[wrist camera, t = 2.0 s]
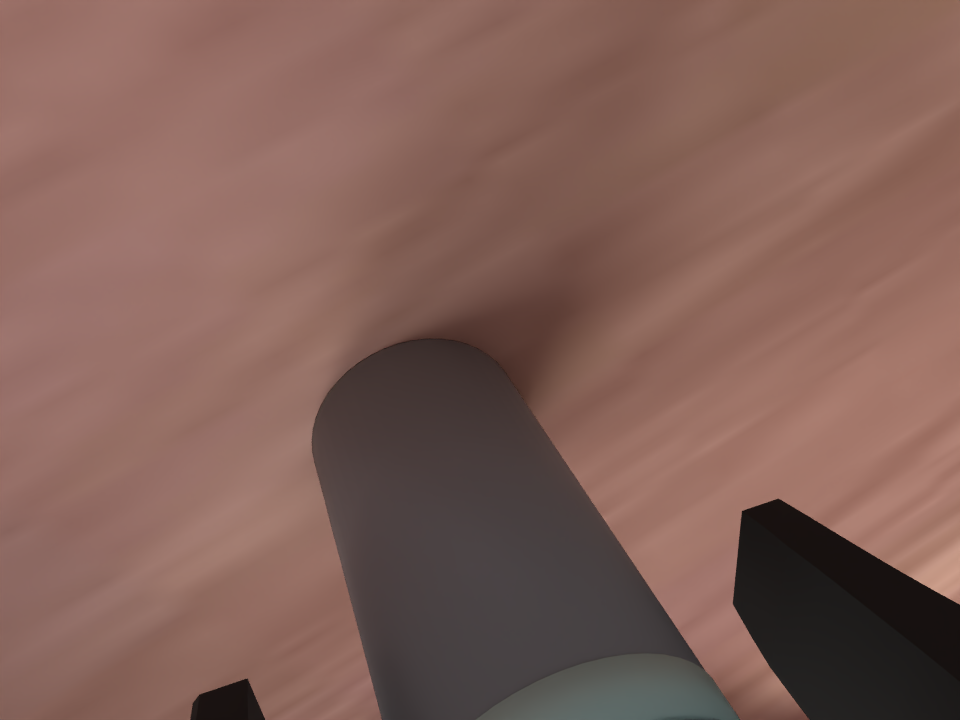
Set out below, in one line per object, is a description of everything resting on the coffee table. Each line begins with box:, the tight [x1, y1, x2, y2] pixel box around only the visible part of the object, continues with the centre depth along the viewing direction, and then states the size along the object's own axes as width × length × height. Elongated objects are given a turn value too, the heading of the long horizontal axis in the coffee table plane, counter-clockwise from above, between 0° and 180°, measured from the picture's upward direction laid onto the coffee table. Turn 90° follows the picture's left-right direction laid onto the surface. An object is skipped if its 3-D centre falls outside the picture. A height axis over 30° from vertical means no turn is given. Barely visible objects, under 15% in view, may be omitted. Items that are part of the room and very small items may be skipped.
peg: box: [312, 339, 740, 720], centre depth 12 cm, size 4×4×8 cm
